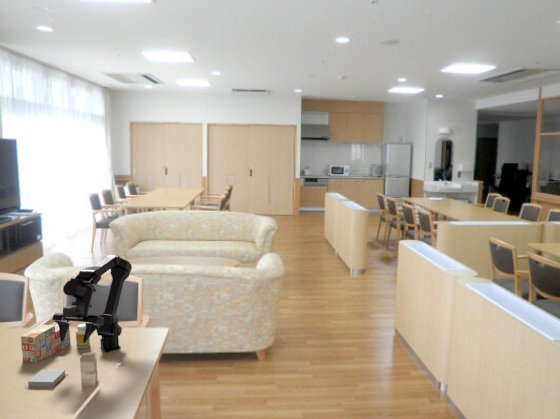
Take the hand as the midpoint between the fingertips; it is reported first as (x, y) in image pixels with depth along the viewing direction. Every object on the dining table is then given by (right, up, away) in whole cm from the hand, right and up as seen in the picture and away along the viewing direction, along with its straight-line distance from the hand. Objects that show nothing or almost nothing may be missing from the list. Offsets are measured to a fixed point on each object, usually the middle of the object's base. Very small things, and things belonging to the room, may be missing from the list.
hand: (72, 342), depth 179 cm
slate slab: (-8, -13, -4) cm, 16 cm away
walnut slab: (-8, -15, -4) cm, 17 cm away
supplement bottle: (-8, -10, +29) cm, 32 cm away
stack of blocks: (-20, -11, +21) cm, 31 cm away
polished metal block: (+9, -15, -6) cm, 18 cm away
